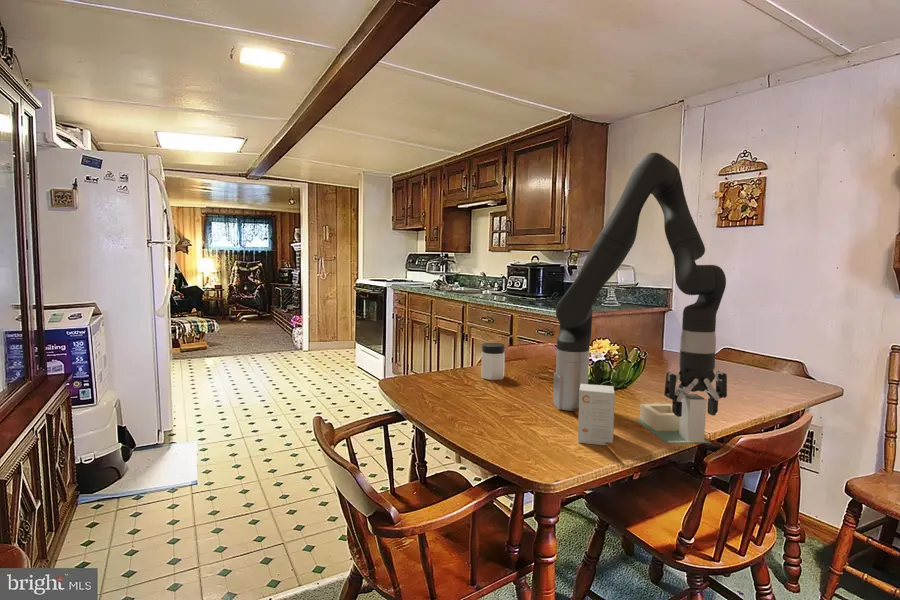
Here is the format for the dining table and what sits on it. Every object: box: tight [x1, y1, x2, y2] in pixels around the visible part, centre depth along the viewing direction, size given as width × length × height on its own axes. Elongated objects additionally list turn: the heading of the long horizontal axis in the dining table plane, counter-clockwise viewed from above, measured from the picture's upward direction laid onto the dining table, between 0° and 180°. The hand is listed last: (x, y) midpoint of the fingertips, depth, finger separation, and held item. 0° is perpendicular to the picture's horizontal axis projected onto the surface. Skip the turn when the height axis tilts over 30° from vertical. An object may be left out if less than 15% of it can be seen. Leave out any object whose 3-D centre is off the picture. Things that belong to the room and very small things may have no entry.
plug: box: [679, 393, 708, 441], centre depth 116 cm, size 4×5×10 cm
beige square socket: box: [639, 402, 680, 431], centre depth 125 cm, size 9×10×4 cm
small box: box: [577, 383, 616, 447], centre depth 116 cm, size 8×6×13 cm
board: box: [634, 417, 712, 445], centre depth 121 cm, size 11×17×1 cm, turn 4°
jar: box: [480, 342, 506, 381], centre depth 174 cm, size 9×8×12 cm
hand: (694, 415), depth 116 cm, fingers open, 8 cm apart
